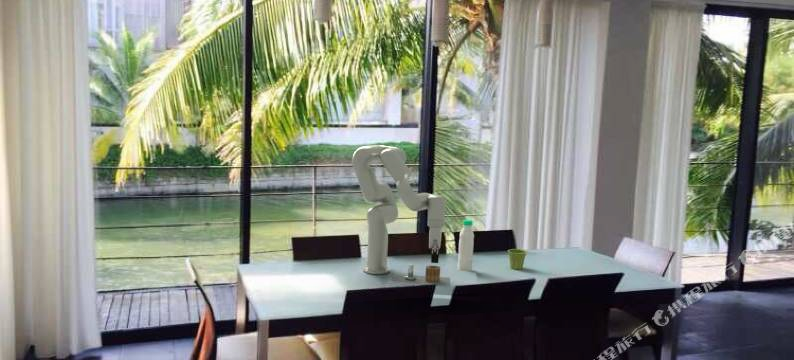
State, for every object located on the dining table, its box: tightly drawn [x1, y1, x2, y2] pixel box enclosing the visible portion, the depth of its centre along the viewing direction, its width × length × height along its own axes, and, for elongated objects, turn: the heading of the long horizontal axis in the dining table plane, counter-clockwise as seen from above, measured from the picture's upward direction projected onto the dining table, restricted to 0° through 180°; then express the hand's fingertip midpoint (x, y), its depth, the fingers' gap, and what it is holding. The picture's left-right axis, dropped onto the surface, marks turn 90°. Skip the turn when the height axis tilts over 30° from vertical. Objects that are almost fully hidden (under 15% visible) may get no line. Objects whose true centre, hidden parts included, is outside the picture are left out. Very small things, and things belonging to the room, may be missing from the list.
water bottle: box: [457, 219, 475, 272], centre depth 324 cm, size 7×7×25 cm
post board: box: [391, 273, 451, 286], centre depth 301 cm, size 12×26×2 cm, turn 85°
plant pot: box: [507, 248, 528, 270], centre depth 334 cm, size 9×9×9 cm
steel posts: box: [404, 263, 416, 280], centre depth 301 cm, size 5×14×7 cm, turn 85°
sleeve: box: [424, 264, 441, 282], centre depth 300 cm, size 6×6×6 cm
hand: (435, 260), depth 299 cm, fingers open, 9 cm apart
